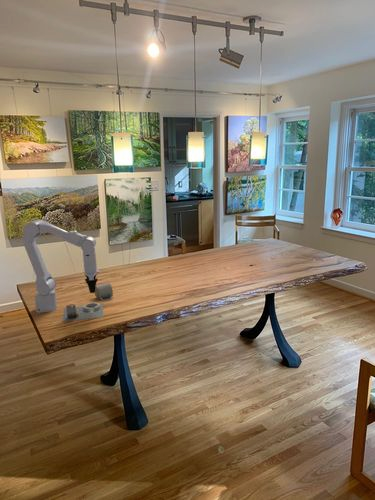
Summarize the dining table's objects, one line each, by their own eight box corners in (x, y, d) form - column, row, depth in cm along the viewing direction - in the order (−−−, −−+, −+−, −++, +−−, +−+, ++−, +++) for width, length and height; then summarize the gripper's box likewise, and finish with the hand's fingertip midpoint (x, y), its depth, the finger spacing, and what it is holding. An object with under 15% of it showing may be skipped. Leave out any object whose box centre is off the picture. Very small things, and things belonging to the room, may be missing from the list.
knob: (67, 319, 171) (65, 307, 169) (67, 316, 174) (66, 304, 173) (78, 318, 172) (77, 306, 170) (78, 314, 176) (77, 303, 174)
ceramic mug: (94, 297, 200) (93, 283, 198) (109, 294, 204) (108, 280, 202) (100, 303, 191) (99, 289, 189) (115, 300, 195) (114, 286, 193)
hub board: (62, 323, 168) (62, 318, 168) (64, 310, 183) (63, 305, 183) (103, 318, 173) (103, 313, 172) (102, 305, 188) (101, 301, 187)
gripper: (99, 265, 172) (101, 294, 175) (97, 258, 186) (99, 284, 189) (83, 267, 170) (85, 295, 174) (83, 259, 184) (85, 286, 187)
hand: (92, 290), depth 181 cm, fingers open, 7 cm apart
